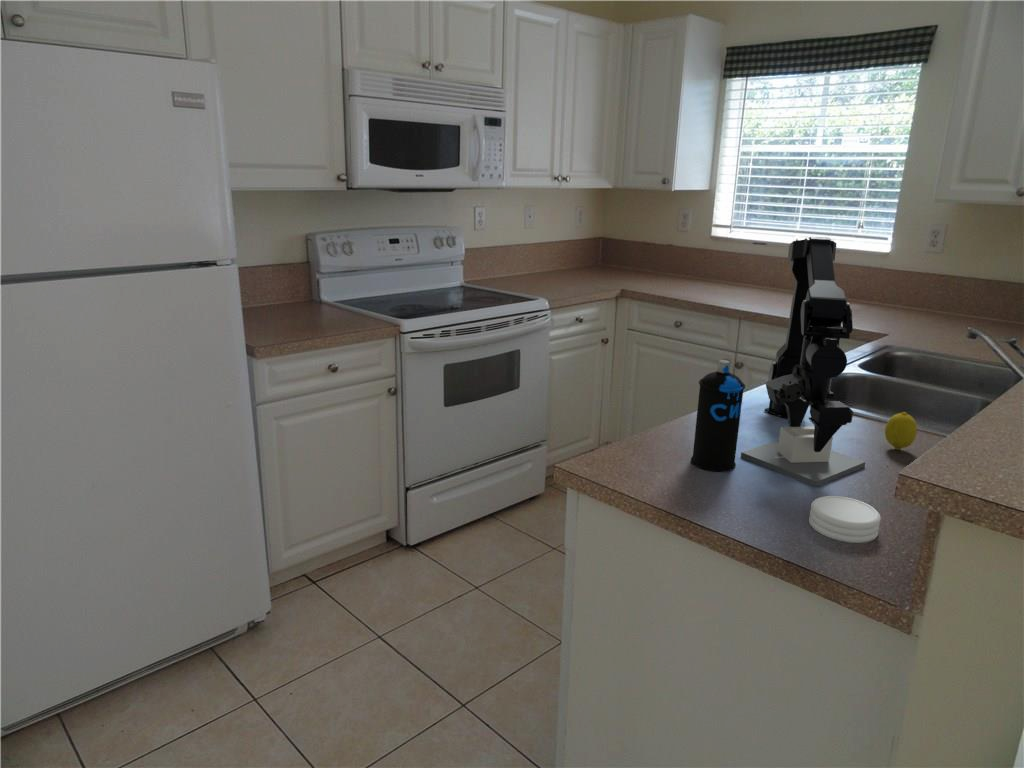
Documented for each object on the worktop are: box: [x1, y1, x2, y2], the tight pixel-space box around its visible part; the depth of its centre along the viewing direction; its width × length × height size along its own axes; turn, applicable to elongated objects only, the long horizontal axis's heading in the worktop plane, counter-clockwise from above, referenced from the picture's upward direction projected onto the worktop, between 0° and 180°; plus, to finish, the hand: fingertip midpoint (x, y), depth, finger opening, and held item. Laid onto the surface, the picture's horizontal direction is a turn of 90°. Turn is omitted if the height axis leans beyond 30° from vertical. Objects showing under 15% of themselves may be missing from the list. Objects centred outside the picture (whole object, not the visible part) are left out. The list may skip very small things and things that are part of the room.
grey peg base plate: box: [740, 439, 866, 488], centre depth 139 cm, size 16×16×4 cm
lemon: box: [884, 411, 918, 451], centre depth 145 cm, size 6×6×8 cm
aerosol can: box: [690, 359, 746, 473], centre depth 135 cm, size 8×8×20 cm
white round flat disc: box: [808, 495, 882, 544], centre depth 114 cm, size 10×10×4 cm
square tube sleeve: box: [778, 426, 834, 463], centre depth 138 cm, size 6×8×5 cm
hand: (804, 442), depth 138 cm, fingers open, 9 cm apart
